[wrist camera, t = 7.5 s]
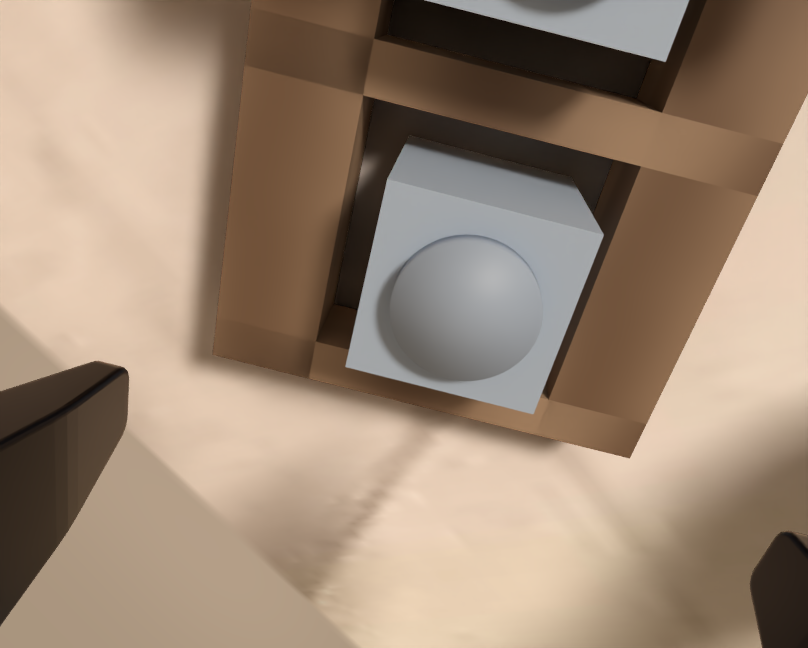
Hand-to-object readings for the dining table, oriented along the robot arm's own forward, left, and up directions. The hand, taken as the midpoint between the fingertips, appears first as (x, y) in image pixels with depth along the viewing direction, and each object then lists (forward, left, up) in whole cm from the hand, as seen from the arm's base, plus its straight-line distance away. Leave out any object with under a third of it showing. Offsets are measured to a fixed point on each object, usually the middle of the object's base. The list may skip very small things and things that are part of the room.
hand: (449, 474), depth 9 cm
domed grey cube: (0, 0, -11) cm, 11 cm away
